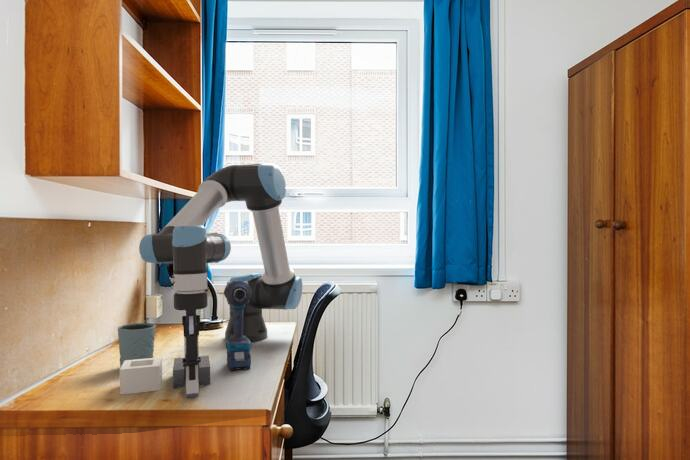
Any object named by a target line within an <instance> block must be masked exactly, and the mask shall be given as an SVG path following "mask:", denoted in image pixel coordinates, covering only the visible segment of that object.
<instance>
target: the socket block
mask: <svg viewBox="0 0 690 460" xmlns="http://www.w3.org/2000/svg"><path fill="white" fill-rule="evenodd" d="M199 359H200V360H201V362H198V386H206V385H208V386H209V385H211V379H212V378H211V362H210V355H199ZM183 363H185V357H178V358H177V357H175V358H174V360H173V366H172V387H173V389H180V388H186V366H185V367H183Z"/></svg>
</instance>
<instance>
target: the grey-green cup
mask: <svg viewBox="0 0 690 460" xmlns="http://www.w3.org/2000/svg"><path fill="white" fill-rule="evenodd" d="M156 327H157V326H156V324H155V323H151V322H138V323H137V322H136V323H135V322H134V323H127V324H122V325H119V326H118V327H117V337H118V350H119V366H120V368H121V366H122V364H123V363H124V361H125V360H135V359H146V358H154V351H155V334H156ZM120 368H119V369H120Z"/></svg>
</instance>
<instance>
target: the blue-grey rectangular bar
mask: <svg viewBox="0 0 690 460" xmlns="http://www.w3.org/2000/svg"><path fill="white" fill-rule="evenodd" d="M195 397H199V393H192V394H186V393H185V398H195Z"/></svg>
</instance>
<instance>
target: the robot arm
mask: <svg viewBox="0 0 690 460" xmlns="http://www.w3.org/2000/svg"><path fill="white" fill-rule="evenodd" d="M285 180H286V179H285V177H284V173H283V171H282V170H281V168H280V167H279V166H278V165H276V164H275V163H252V164H233V165H232V164H231V165H228V166H226V167H225V166H224V167H222V168H220V169H218V170H217V171H215V172H213V173H212V174H211V175H209V176H208V177H206V178H205V179H204V180H203V181H202V182H201V183H200V184H199V186H198V189H197V192H196V193H195V194H194V195H193V196H192V197H191V198H190V200H188V202H187V203H186V204H184V205H183V207H182V208H181V209H180V210H179V211H178V212H177V213H176V214H175V216H173V217H172V219H170V221H169V222H168V223H167V224H166V225H165V226H164V227H163V228H162V229H161V230H160V231H159V232H158V233H152V234H145V235H144V236H143V237H142V238H141V240H140V241H139V246H138V247H139V248H138V251H139V254H140V257H141V259H142V260H143V261H144V262H146V263H151V264H159V265H160V264H173V267H172V268H173V270H172V271H173V272H172V273H173V277H171V278H170V282H171V283H173V291H175V293H174V294H173V309H175V310H176V311H185V315H182V318H181V320H182V321H181V325H182V327H183V328H182V329H183V338H184V337H186V363H183V367H185V366H186V381H185V395H186V394H192V393H198V394H199V379H198V362H201V360H200V359H198V358H197V356H198V354H197V336H198V337H199V335H200V324H201V316H200V315H201V314H197V310H203V309H206V308H207V307H208V292H207V291H206V290H207V289H208V266H207V265H208V264H212V263H215V264H217V263H219V262H222V261H224V260H226V259H227V258H228V257H229V255H230V254H231V249H232V247H231V243H230V240H229V238H228V237H227V236H226V235H224V234H222V233H218V232H209V233H208V232H207V229H206V226H204V225H205V224H206V223H207V222H208V221H209V219H210V218H211V217H212V215H213V214H214V213H215V212H216V210H217V209H220V208H222V207H225V205H226V203H229V202H230V203H231V202H244V203H245V205H246V208H247V210H248V211H250V212H252V216H253V220H254V225H255V231H256V235H257V239H258V244H259V249H260V255H261V259H262V264H263V269H264V272H263V273H261V272H254V273H247V274H241V275H235V276H233V277H231V278H230V279H229V282H230V281H233V280H241V281H247V282H248V284H249V286H250V288H251V290H252V293H251V297H250V299H249V302H248V304H246V308H244V310H243V316H244V317H243V335H245V336H246V337H247V338H248V339H249V340H250V341H251V342H256V341H257V342H258V341H261V340H264V339H266V338H268V329H267V325H266V323H265V320H264V317H263V310H284V311H287V310H296V309H297V308H298V307H299V305H300V302H301V299H302V293H303V279H302V277H300V276H296V274H295V270H294V269H293V268H291V267H290V264H289V263H290V262H289V258H288V253H287V249H286V248H287V247H286V243H285V237H284V230H283V226H282V220H281V216H280V215H281V213H280V210H279V207H280V206H281V205H282V203H283V201H282V200H283V199H285V197H286V193H287V189H286V187H287V185H286V181H285ZM196 323H197V325H196ZM233 335H234V330H233V309H232V305H229V317H228V322H227V326H226V329H225V333H224V338H225V340H226V341H227V340H228V339H229V338H230V337H231V336H233Z"/></svg>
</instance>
